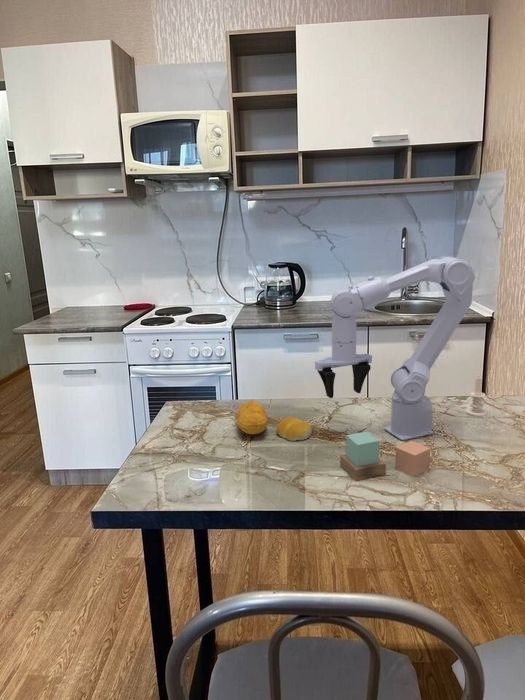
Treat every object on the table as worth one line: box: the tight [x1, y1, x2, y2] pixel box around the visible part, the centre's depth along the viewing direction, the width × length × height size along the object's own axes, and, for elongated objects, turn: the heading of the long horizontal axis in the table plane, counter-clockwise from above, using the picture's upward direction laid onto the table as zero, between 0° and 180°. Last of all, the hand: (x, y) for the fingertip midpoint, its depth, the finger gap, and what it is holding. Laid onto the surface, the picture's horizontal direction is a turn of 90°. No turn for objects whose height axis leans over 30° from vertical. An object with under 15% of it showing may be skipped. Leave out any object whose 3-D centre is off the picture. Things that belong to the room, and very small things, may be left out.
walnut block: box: [339, 453, 387, 482], centre depth 112 cm, size 7×7×3 cm
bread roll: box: [275, 416, 313, 442], centre depth 131 cm, size 8×9×4 cm
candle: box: [465, 377, 488, 418], centre depth 138 cm, size 5×5×10 cm
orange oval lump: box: [236, 400, 268, 435], centre depth 133 cm, size 8×14×7 cm, turn 7°
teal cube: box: [345, 431, 380, 467], centre depth 111 cm, size 5×5×5 cm
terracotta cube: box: [394, 440, 431, 478], centre depth 111 cm, size 5×5×5 cm
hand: (343, 394), depth 128 cm, fingers open, 7 cm apart
